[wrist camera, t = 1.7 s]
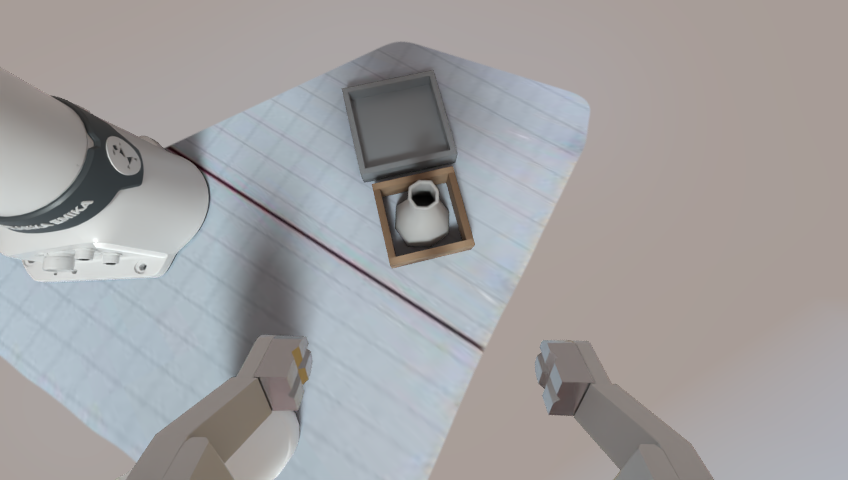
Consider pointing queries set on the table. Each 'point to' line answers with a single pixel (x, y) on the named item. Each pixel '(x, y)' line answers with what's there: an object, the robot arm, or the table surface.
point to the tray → (399, 126)
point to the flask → (422, 215)
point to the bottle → (264, 449)
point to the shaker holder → (450, 179)
